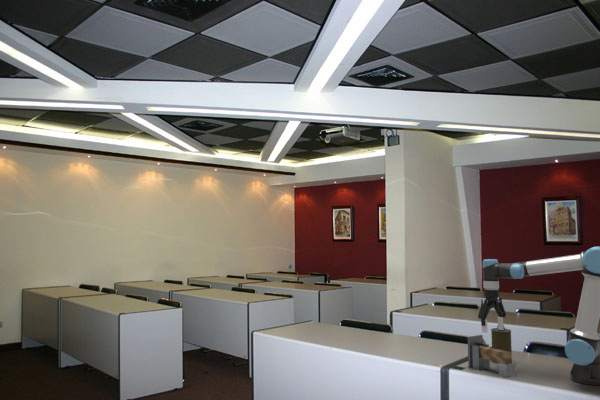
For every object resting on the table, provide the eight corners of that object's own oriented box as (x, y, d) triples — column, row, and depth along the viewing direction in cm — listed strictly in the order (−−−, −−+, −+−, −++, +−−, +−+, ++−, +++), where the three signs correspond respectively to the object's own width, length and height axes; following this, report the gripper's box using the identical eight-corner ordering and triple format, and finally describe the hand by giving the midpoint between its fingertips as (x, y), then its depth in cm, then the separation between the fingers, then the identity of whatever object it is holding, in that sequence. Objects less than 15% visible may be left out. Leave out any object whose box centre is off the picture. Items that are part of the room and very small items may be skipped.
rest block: (516, 374, 231) (515, 362, 231) (506, 377, 226) (506, 364, 227) (508, 373, 234) (508, 360, 234) (499, 375, 230) (498, 362, 230)
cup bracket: (491, 367, 244) (490, 336, 245) (477, 370, 238) (476, 338, 239) (481, 365, 249) (480, 334, 250) (468, 368, 243) (467, 336, 244)
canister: (514, 364, 250) (513, 326, 252) (494, 363, 252) (492, 326, 254) (509, 359, 261) (508, 323, 263) (490, 358, 263) (488, 322, 265)
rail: (511, 362, 231) (511, 352, 232) (505, 363, 228) (505, 353, 229) (480, 355, 246) (480, 345, 247) (474, 356, 243) (474, 346, 244)
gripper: (499, 287, 250) (500, 327, 248) (469, 289, 237) (471, 332, 234) (512, 288, 244) (513, 329, 242) (482, 290, 230) (484, 334, 228)
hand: (492, 331), depth 238 cm, fingers open, 13 cm apart
